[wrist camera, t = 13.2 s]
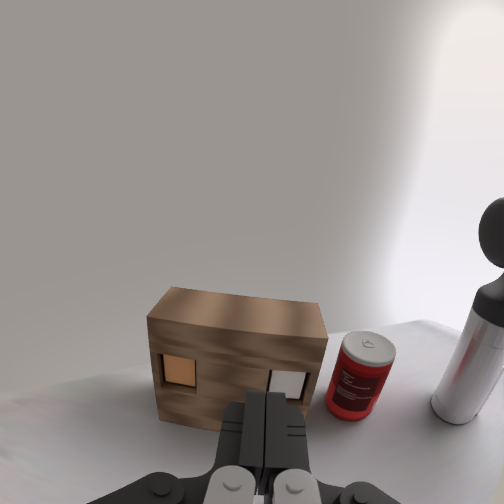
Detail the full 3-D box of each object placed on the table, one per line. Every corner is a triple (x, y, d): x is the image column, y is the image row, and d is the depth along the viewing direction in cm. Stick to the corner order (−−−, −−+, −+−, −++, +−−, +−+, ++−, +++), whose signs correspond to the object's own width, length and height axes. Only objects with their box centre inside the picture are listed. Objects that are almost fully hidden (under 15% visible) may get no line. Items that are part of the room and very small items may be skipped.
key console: (296, 398, 39) (317, 303, 34) (298, 438, 31) (328, 338, 27) (175, 383, 40) (171, 286, 35) (159, 419, 32) (146, 316, 28)
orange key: (204, 361, 36) (204, 333, 34) (195, 386, 31) (194, 357, 30) (177, 357, 36) (176, 329, 35) (165, 380, 31) (163, 351, 30)
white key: (297, 372, 35) (303, 345, 34) (299, 398, 30) (306, 370, 29) (269, 370, 35) (273, 342, 34) (268, 396, 30) (273, 367, 29)
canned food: (359, 384, 42) (379, 328, 39) (380, 416, 34) (407, 358, 31) (317, 390, 41) (333, 331, 38) (334, 426, 33) (357, 366, 30)
